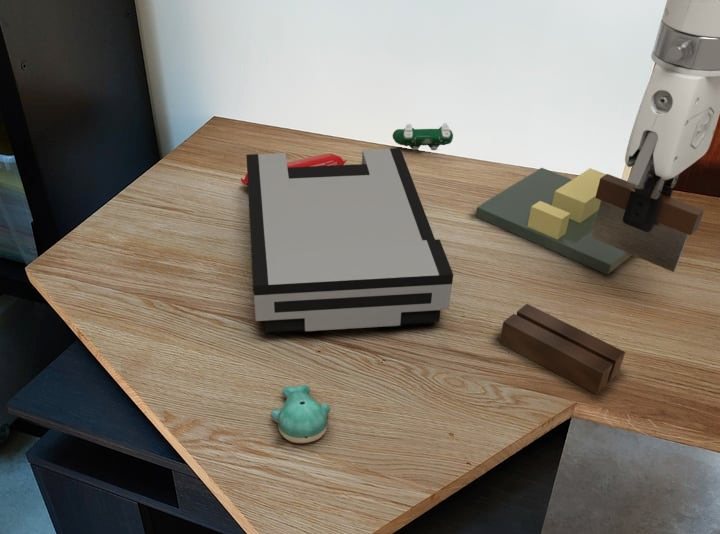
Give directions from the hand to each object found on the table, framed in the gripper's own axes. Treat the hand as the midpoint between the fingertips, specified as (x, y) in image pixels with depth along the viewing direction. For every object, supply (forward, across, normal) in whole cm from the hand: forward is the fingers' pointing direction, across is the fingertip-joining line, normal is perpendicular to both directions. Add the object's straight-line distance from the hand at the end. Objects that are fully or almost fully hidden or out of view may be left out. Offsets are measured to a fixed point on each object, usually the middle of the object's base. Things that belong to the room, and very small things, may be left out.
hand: (642, 221), depth 83 cm
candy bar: (+8, -5, +48) cm, 49 cm away
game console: (+12, -16, +30) cm, 36 cm away
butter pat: (+10, +7, +14) cm, 18 cm away
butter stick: (+10, +16, +14) cm, 23 cm away
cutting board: (+11, +13, +14) cm, 22 cm away
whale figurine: (+12, -39, +13) cm, 43 cm away
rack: (+11, -13, 0) cm, 17 cm away
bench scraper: (+4, 0, 0) cm, 4 cm away
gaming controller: (+12, +17, +42) cm, 47 cm away
